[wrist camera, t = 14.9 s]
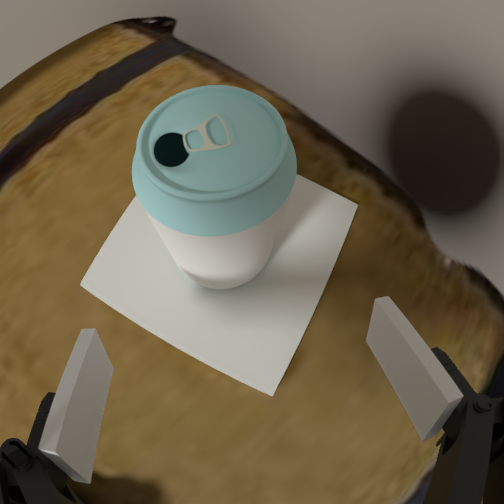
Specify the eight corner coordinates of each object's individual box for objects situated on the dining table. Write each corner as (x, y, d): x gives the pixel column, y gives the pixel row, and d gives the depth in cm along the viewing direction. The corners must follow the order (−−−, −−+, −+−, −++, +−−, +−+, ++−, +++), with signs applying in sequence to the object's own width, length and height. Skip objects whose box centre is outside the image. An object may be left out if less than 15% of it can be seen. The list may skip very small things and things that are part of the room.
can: (235, 310, 21) (236, 257, 9) (154, 255, 22) (85, 159, 10) (288, 230, 23) (333, 118, 11) (210, 183, 24) (196, 58, 12)
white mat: (83, 286, 21) (79, 284, 21) (188, 132, 26) (187, 127, 25) (271, 395, 20) (272, 396, 19) (355, 208, 24) (358, 204, 24)
